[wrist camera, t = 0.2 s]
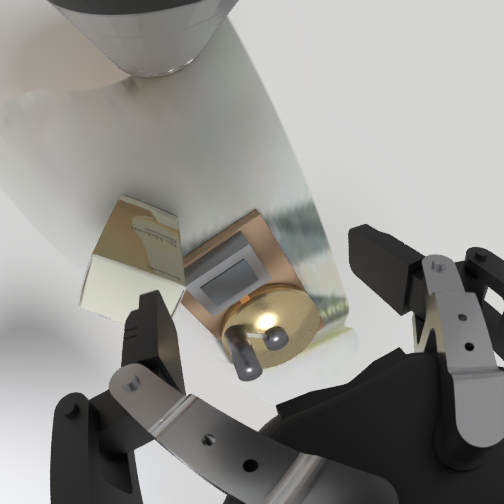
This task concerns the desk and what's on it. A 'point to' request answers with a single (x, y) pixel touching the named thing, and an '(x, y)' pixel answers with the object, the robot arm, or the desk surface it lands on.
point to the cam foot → (268, 328)
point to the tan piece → (234, 270)
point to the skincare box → (134, 262)
